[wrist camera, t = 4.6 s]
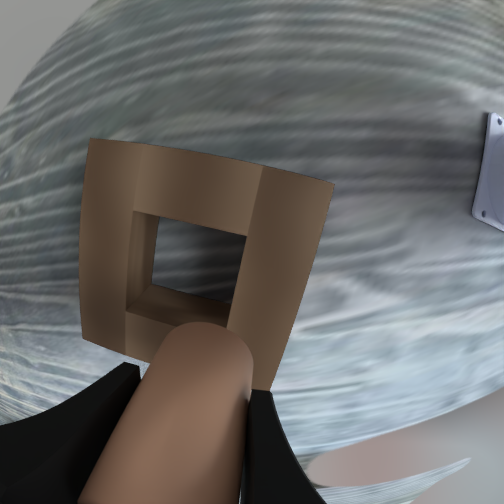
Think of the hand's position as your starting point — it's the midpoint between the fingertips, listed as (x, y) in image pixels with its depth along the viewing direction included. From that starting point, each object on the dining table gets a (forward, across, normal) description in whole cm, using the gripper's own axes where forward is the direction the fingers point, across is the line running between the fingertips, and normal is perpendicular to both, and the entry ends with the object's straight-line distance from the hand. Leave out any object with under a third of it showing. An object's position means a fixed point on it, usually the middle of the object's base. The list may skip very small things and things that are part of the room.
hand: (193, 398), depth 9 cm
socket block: (+9, +2, -2) cm, 10 cm away
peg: (+2, 0, 0) cm, 2 cm away
